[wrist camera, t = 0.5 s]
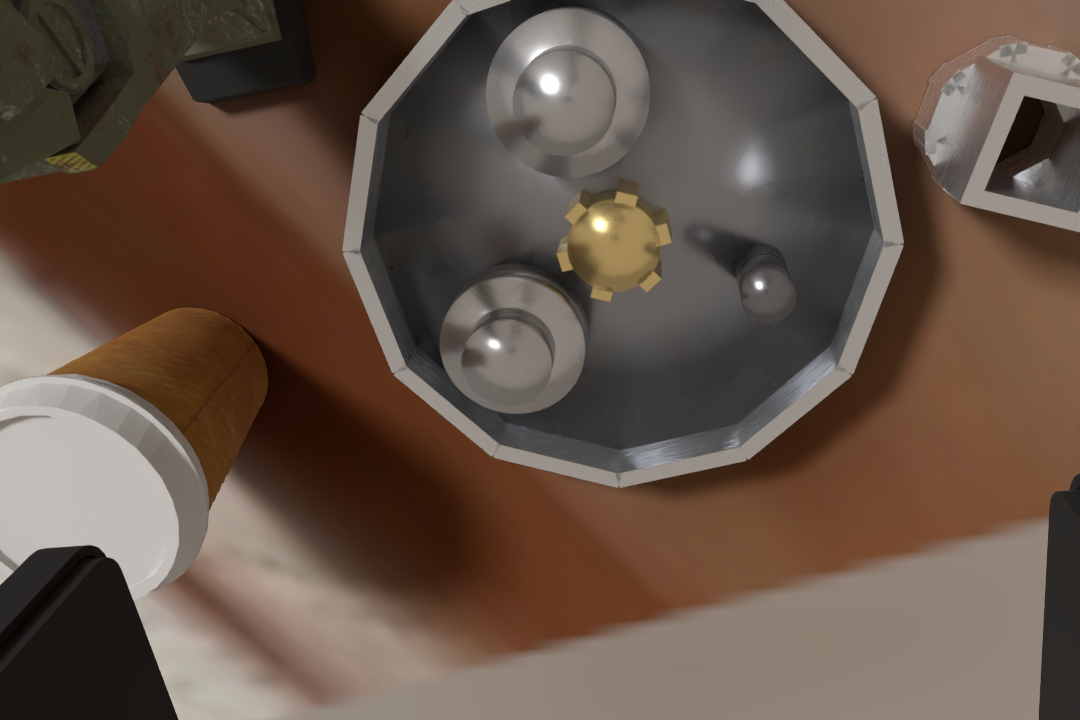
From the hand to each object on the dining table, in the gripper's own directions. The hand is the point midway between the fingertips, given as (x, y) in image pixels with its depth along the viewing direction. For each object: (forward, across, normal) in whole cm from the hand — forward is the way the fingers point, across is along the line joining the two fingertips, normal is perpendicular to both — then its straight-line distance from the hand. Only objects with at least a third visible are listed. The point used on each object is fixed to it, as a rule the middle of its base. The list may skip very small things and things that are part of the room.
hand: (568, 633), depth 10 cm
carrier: (+32, +1, +5) cm, 33 cm away
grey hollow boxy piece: (+32, -13, +2) cm, 35 cm away
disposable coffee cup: (+32, +21, +10) cm, 40 cm away
